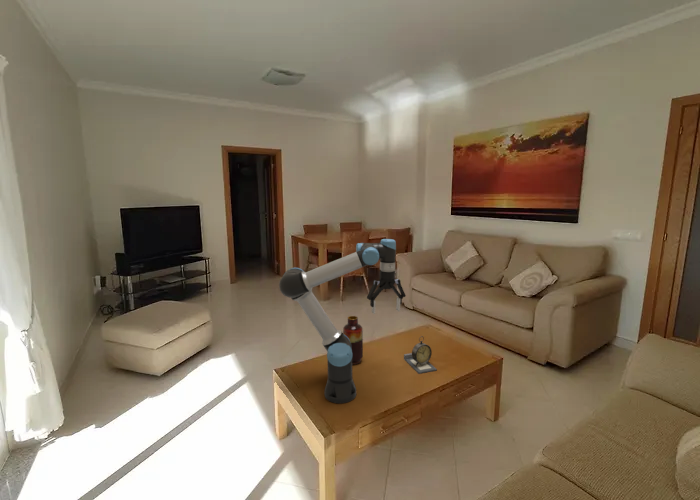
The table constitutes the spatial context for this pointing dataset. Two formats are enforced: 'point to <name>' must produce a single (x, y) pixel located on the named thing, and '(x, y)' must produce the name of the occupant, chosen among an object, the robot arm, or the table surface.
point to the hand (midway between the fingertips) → (385, 311)
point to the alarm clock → (421, 353)
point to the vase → (354, 338)
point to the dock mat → (420, 367)
